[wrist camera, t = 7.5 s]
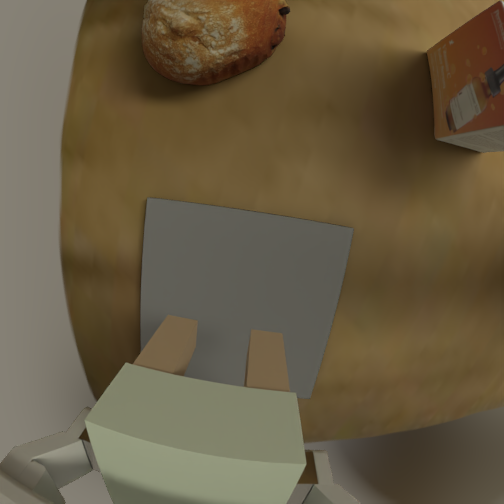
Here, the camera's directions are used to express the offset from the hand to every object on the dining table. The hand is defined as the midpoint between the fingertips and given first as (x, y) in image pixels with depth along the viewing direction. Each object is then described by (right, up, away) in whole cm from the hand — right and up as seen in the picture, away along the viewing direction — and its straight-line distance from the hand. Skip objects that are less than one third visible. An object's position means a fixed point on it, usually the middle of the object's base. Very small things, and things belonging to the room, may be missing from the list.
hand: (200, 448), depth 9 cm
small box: (+18, +19, +9) cm, 28 cm away
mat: (+1, +3, +13) cm, 13 cm away
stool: (0, +1, +5) cm, 5 cm away
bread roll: (-1, +23, +9) cm, 25 cm away
